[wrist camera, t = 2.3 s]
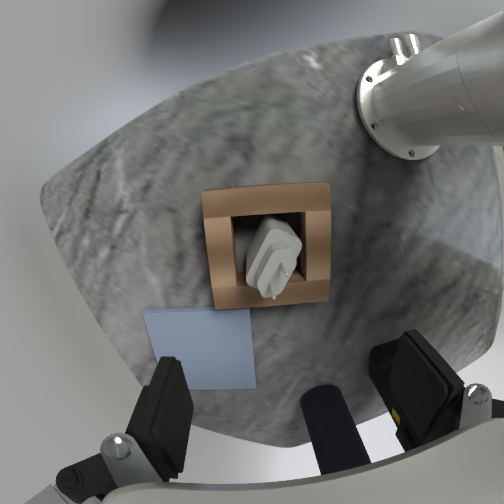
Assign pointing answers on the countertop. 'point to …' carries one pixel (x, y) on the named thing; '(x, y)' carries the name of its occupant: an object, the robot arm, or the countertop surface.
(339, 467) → the black water bottle
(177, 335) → the blue square plate
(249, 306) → the walnut collar
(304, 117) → the countertop surface
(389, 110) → the robot arm
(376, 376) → the portable radio
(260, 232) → the power adapter
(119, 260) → the countertop surface
